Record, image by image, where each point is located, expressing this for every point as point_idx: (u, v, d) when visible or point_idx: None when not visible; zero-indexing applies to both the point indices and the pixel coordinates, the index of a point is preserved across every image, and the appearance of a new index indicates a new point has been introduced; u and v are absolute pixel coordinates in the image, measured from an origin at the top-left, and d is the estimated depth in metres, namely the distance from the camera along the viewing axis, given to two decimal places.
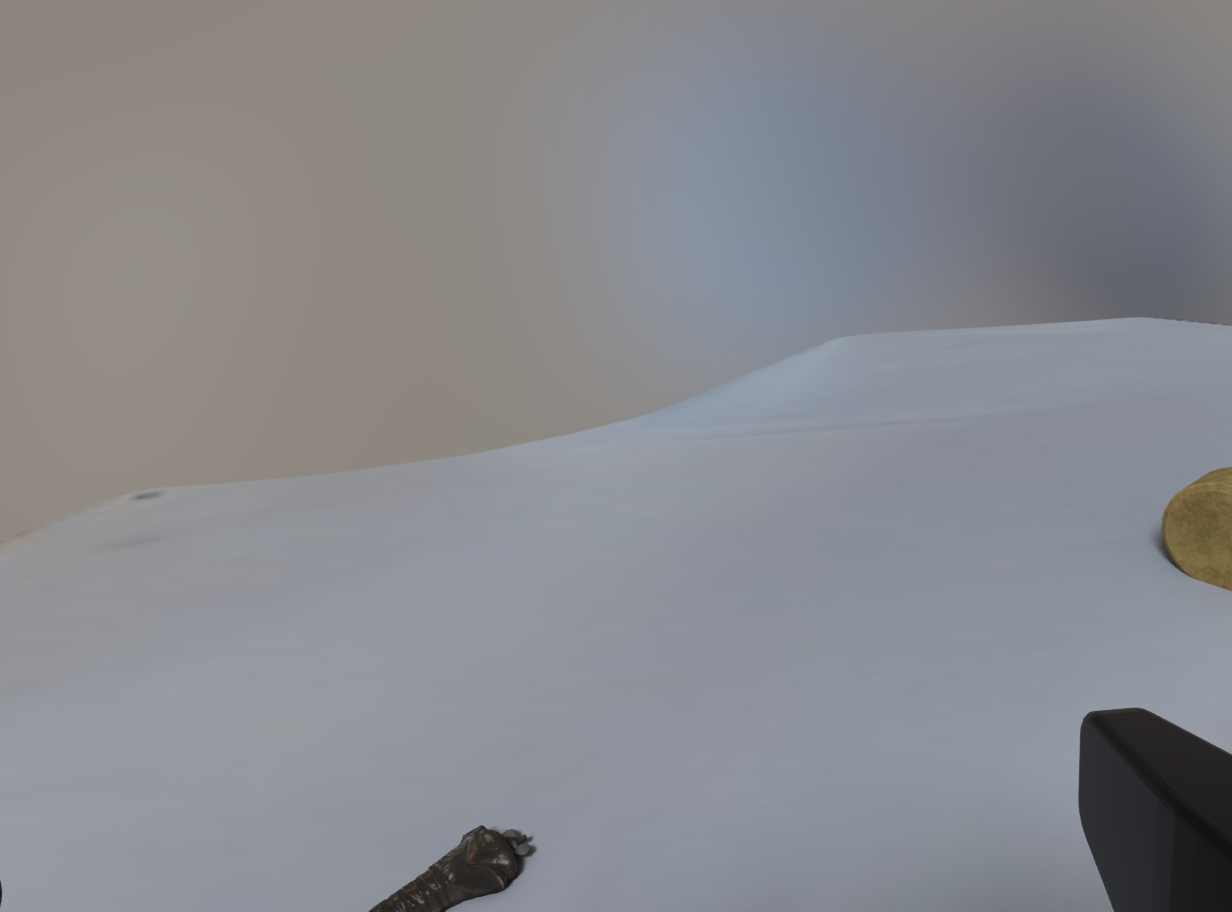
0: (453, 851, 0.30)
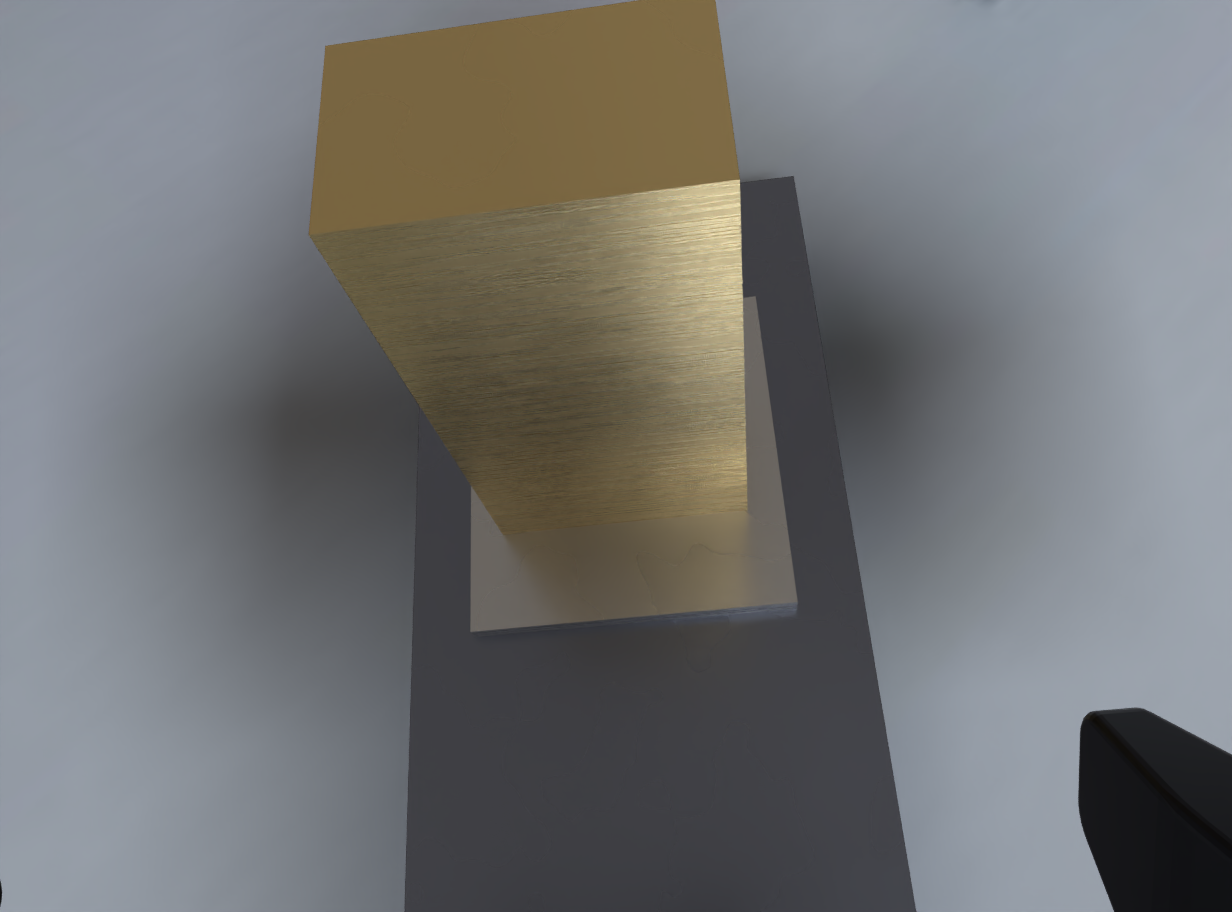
0: None
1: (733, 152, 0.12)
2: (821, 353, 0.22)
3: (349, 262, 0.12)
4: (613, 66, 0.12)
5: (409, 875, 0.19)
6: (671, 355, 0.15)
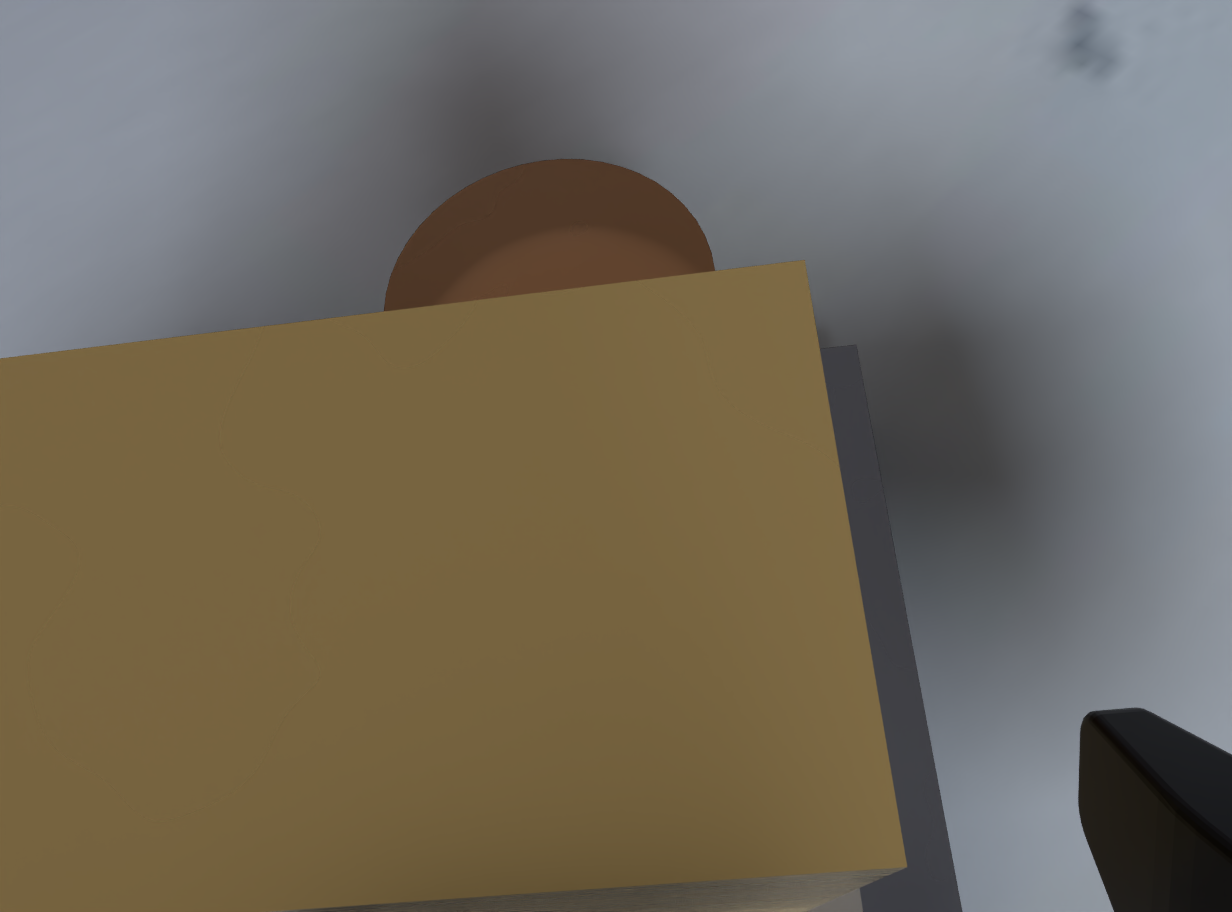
0: None
1: (884, 773, 0.04)
2: (907, 631, 0.15)
3: None
4: (567, 465, 0.05)
5: None
6: (697, 905, 0.07)
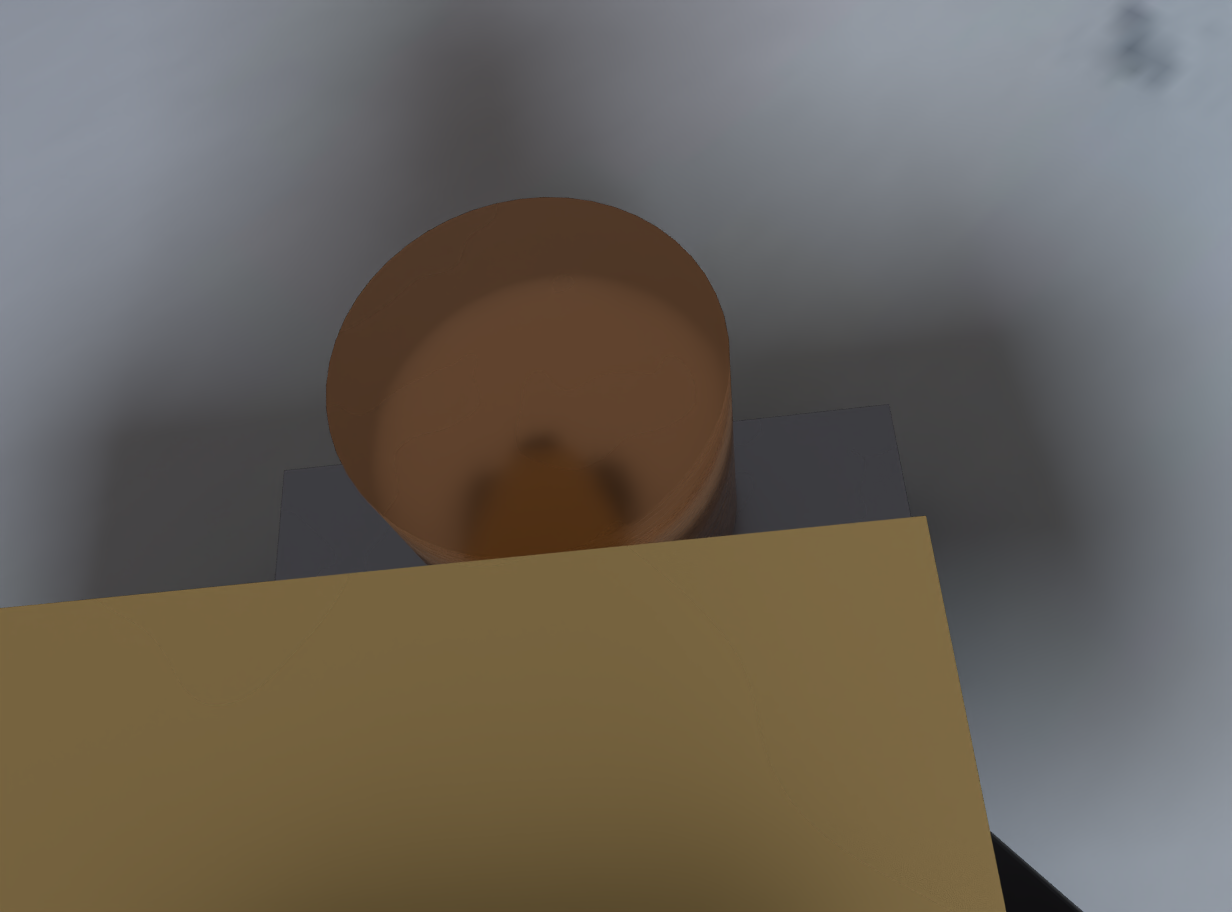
0: None
1: None
2: None
3: None
4: None
5: None
6: None
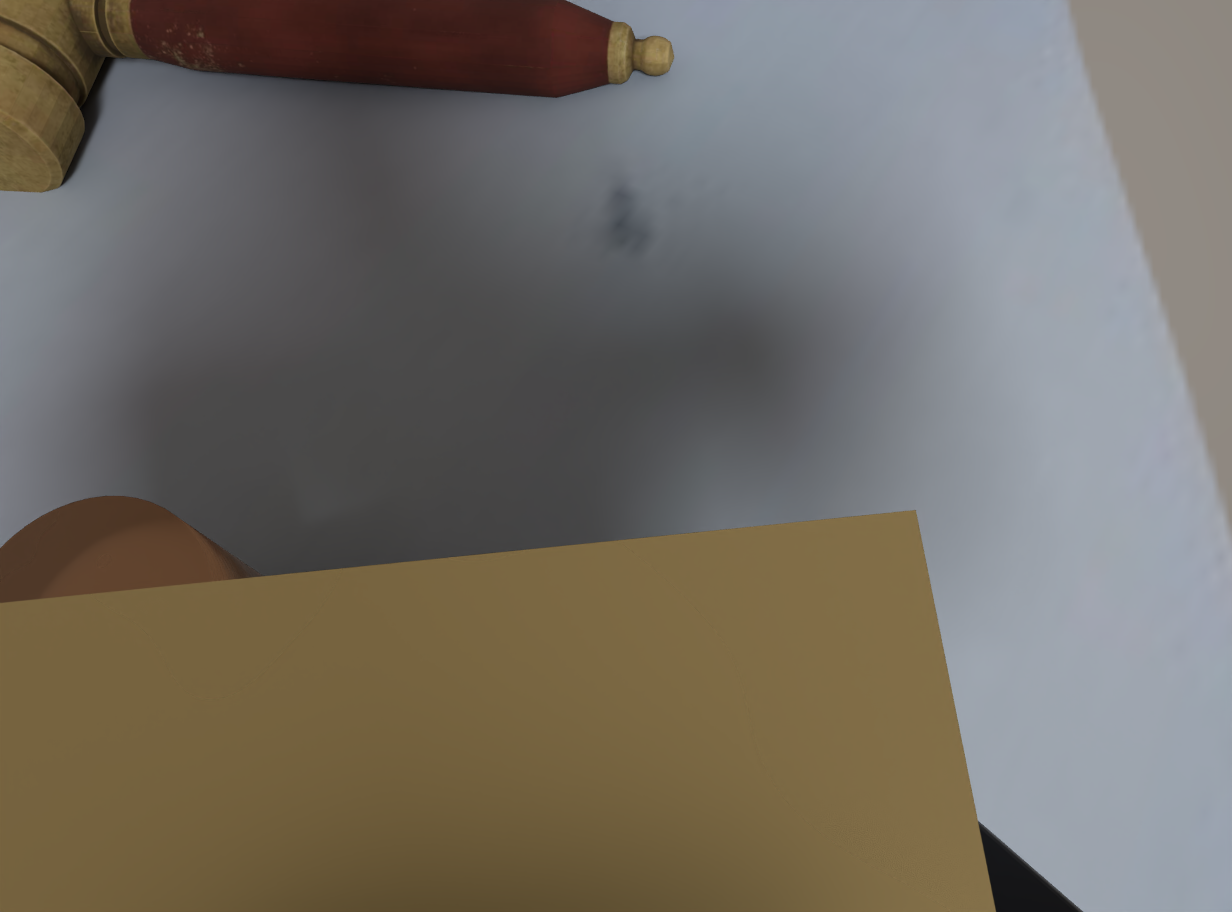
0: None
1: None
2: None
3: None
4: None
5: None
6: None
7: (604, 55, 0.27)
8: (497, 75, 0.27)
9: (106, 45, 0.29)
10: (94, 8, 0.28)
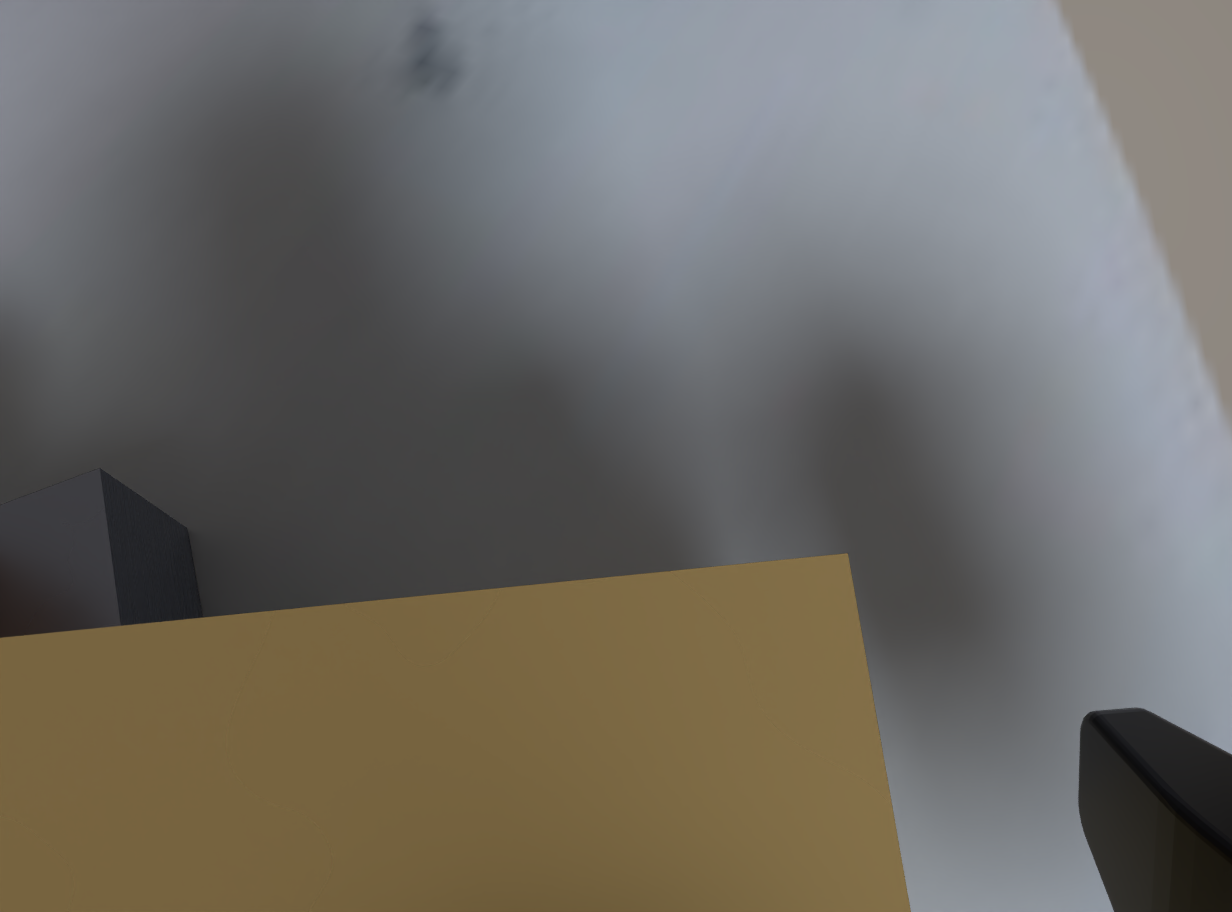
0: None
1: None
2: None
3: None
4: (598, 791, 0.05)
5: None
6: None
7: None
8: None
9: None
10: None
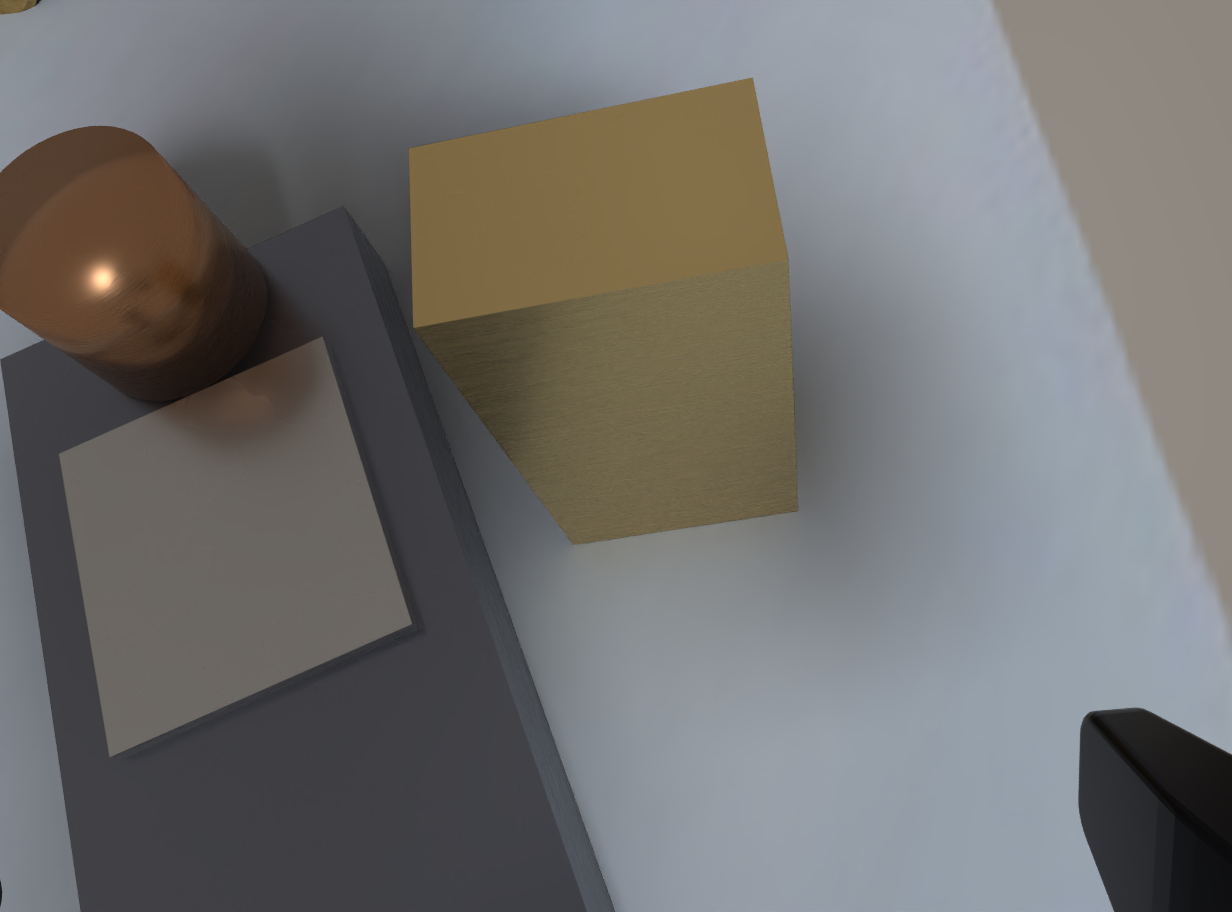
0: None
1: (781, 234, 0.13)
2: (399, 372, 0.22)
3: (447, 345, 0.14)
4: (668, 156, 0.14)
5: None
6: (728, 393, 0.16)
7: None
8: None
9: None
10: None
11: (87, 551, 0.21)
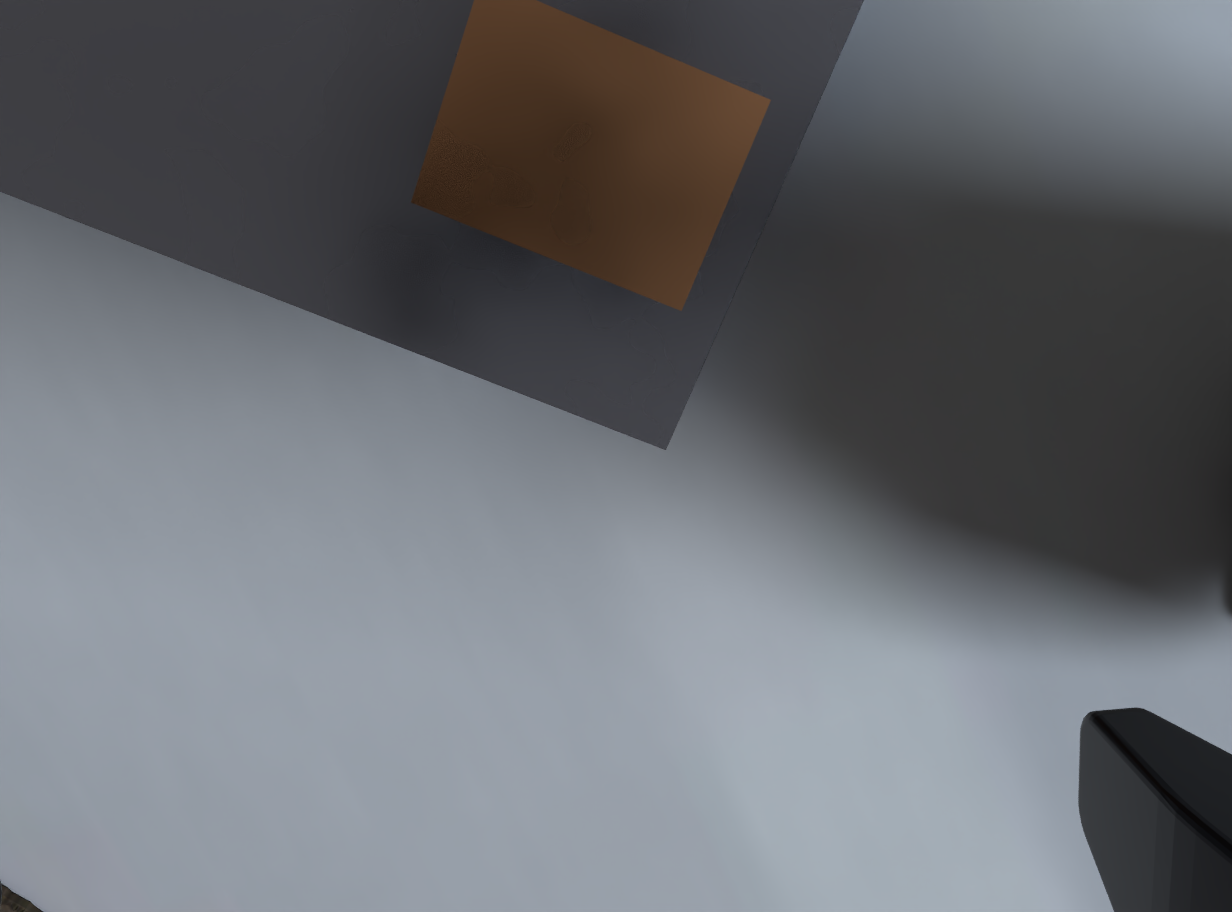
0: None
1: None
2: None
3: None
4: None
5: (55, 208, 0.17)
6: None
7: None
8: None
9: None
10: None
11: None
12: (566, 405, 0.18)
